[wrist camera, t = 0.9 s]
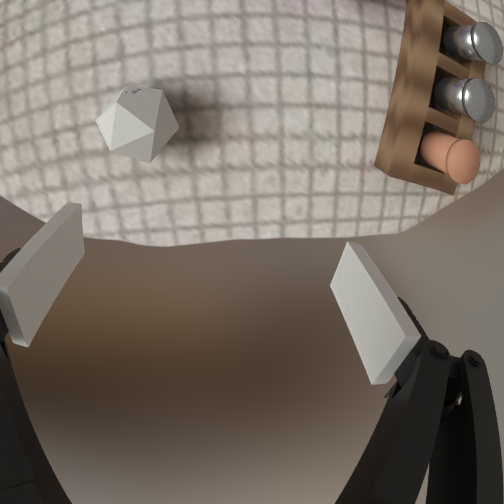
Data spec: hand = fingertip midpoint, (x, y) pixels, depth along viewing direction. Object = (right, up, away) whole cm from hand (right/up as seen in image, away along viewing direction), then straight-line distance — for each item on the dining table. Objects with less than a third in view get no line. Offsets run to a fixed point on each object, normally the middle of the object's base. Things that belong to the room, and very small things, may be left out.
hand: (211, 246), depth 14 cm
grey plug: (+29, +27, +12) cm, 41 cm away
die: (-11, +16, +20) cm, 28 cm away
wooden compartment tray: (+27, +23, +19) cm, 40 cm away
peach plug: (+26, +13, +19) cm, 35 cm away
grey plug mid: (+27, +20, +16) cm, 37 cm away
